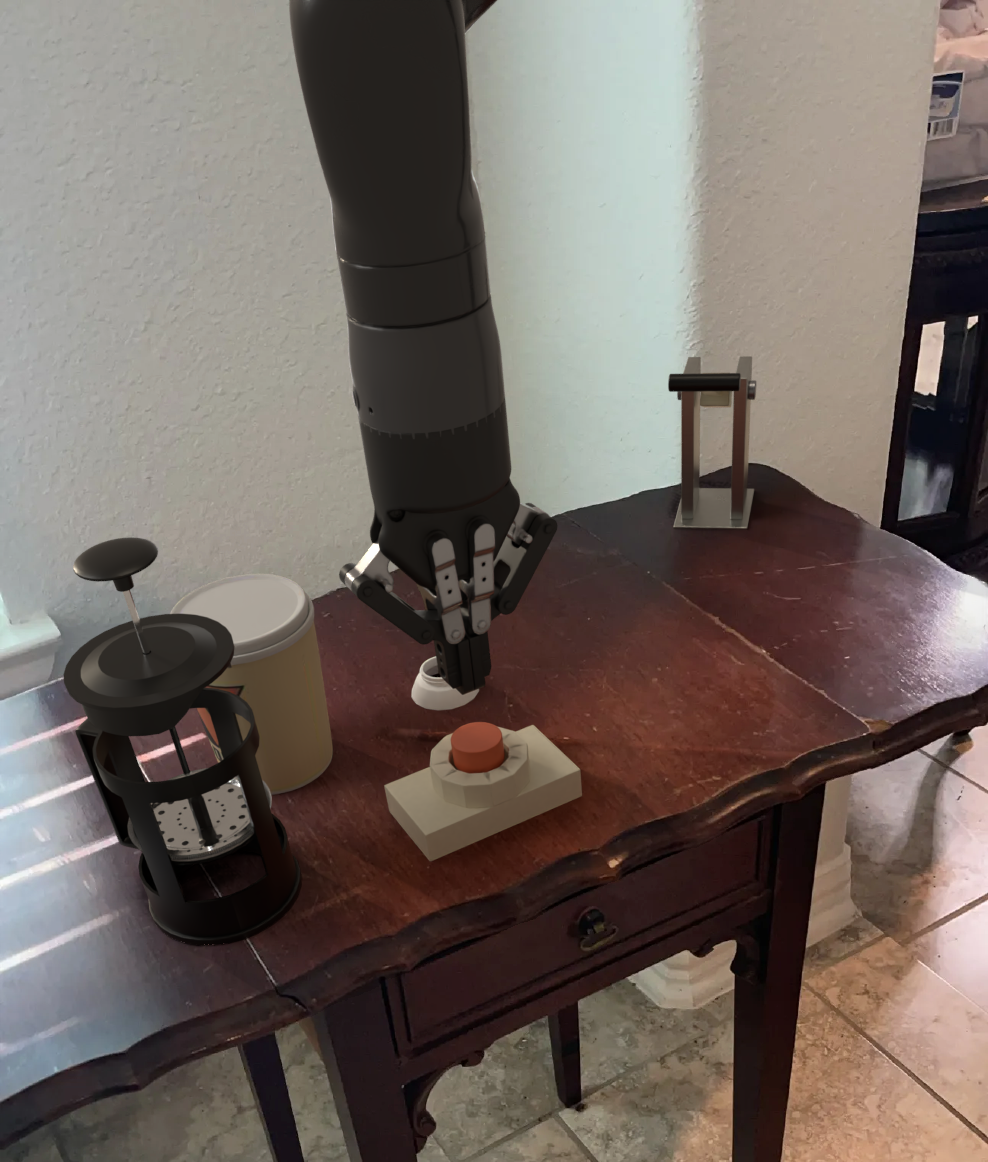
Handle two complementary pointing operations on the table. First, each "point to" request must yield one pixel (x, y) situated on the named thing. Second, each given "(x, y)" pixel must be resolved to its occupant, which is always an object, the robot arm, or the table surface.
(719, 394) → the lever
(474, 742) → the button
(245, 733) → the beige canister with lid
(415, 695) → the white jar
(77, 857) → the table surface
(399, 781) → the button base
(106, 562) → the french press
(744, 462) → the switch bracket
